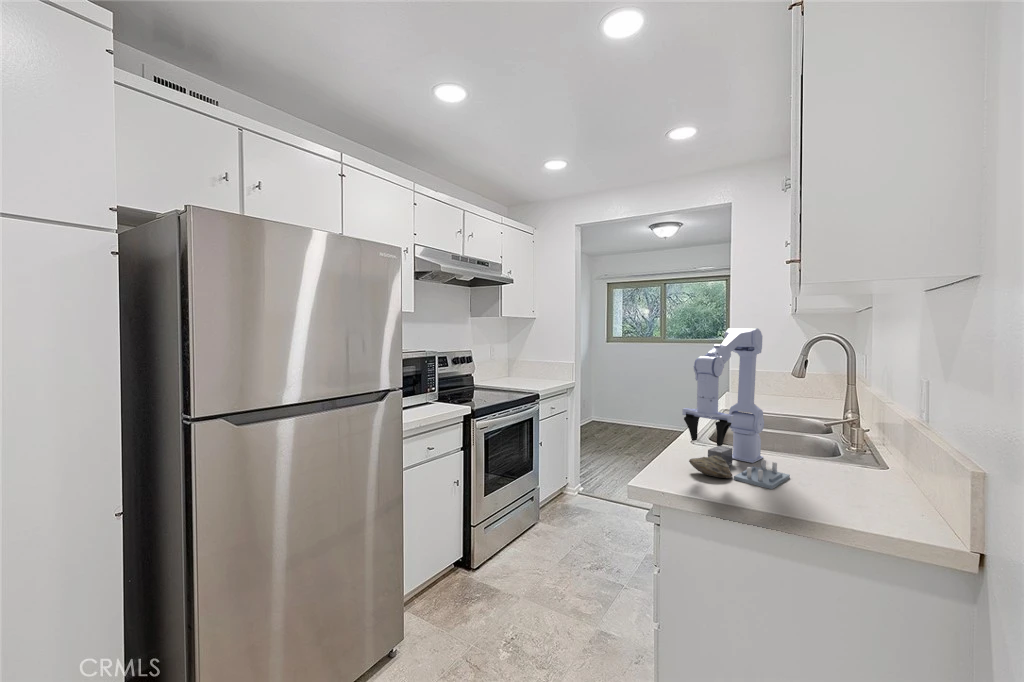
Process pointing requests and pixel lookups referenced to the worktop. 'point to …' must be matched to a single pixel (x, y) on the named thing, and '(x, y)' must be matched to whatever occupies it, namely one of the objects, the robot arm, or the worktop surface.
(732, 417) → the robot arm
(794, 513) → the worktop surface
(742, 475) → the grey pegged plate
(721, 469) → the fossilized seashell
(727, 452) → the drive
